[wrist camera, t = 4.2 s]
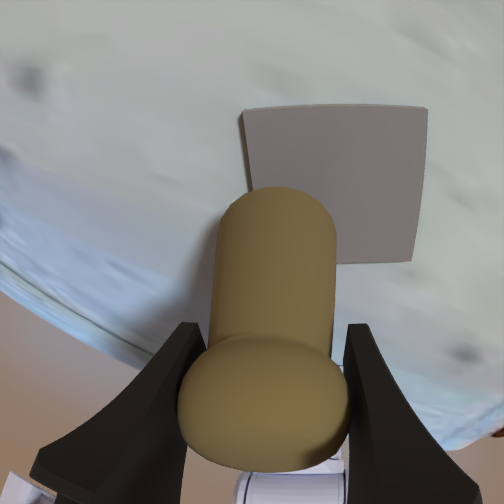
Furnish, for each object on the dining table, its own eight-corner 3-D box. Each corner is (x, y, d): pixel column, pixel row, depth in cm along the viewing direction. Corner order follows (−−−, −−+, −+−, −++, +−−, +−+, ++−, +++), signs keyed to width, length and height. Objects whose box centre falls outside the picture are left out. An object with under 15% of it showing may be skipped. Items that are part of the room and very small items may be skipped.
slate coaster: (406, 250, 20) (411, 261, 19) (264, 255, 22) (262, 265, 21) (420, 105, 15) (427, 109, 14) (245, 108, 16) (242, 111, 16)
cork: (217, 279, 18) (167, 471, 9) (219, 179, 15) (124, 398, 6) (323, 292, 18) (333, 488, 9) (348, 195, 14) (413, 425, 5)
